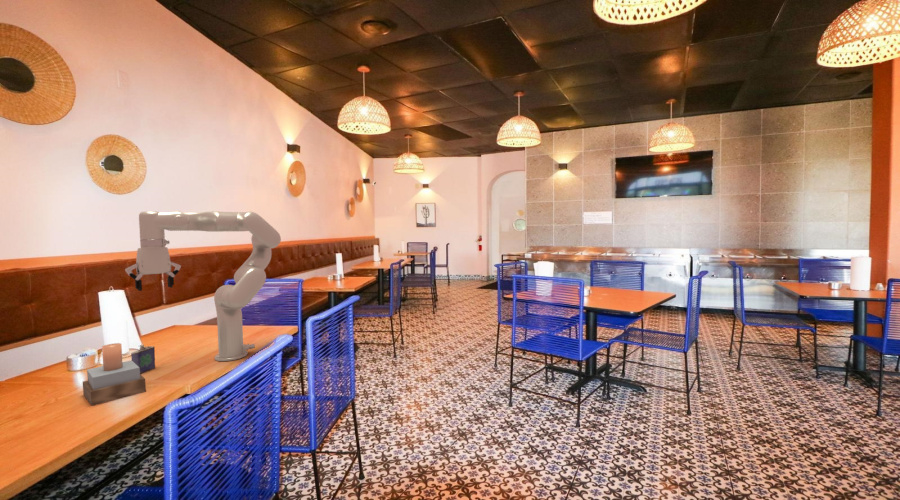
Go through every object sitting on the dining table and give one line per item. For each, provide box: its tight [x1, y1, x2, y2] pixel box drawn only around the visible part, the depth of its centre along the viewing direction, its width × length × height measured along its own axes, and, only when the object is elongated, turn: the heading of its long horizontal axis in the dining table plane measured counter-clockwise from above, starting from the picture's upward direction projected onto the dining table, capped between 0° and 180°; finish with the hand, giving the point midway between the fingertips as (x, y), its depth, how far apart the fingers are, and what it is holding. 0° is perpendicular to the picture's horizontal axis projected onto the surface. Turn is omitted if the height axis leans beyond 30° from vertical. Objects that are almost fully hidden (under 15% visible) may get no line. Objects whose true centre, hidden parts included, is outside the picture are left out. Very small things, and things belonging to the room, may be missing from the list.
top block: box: [86, 359, 141, 390], centre depth 134 cm, size 12×12×4 cm
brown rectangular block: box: [101, 342, 123, 371], centre depth 134 cm, size 5×5×8 cm
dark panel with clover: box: [130, 344, 156, 375], centre depth 155 cm, size 9×3×11 cm, turn 172°
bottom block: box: [82, 374, 147, 407], centre depth 135 cm, size 14×14×5 cm
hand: (155, 288), depth 150 cm, fingers open, 9 cm apart
